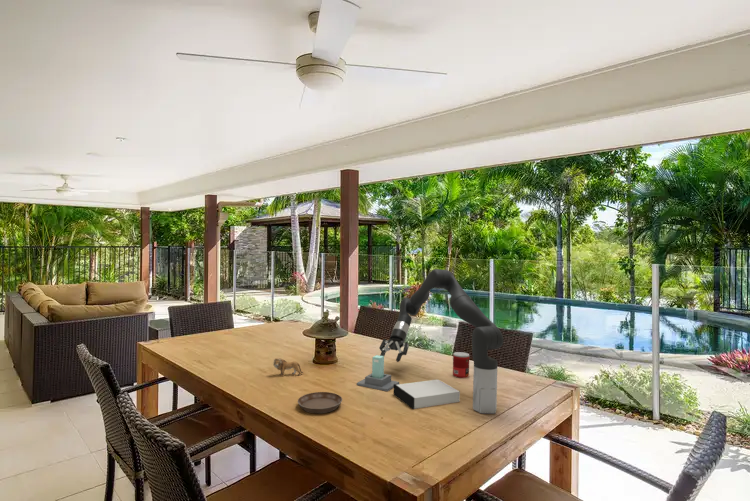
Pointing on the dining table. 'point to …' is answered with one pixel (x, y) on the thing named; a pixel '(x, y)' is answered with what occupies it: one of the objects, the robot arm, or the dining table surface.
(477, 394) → the robot arm
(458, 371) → the canned food
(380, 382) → the port block
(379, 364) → the plug
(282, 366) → the lion figurine
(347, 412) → the dining table surface
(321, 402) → the plant saucer
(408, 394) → the disc drive
